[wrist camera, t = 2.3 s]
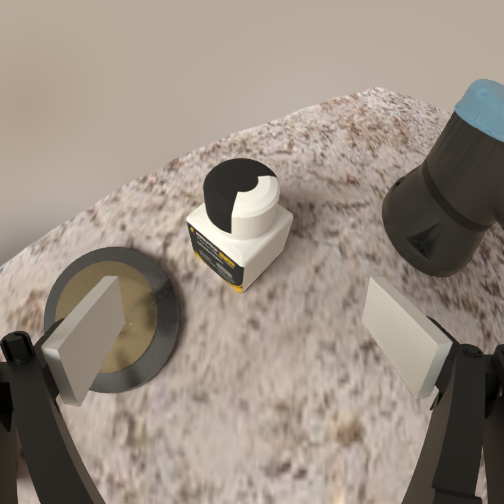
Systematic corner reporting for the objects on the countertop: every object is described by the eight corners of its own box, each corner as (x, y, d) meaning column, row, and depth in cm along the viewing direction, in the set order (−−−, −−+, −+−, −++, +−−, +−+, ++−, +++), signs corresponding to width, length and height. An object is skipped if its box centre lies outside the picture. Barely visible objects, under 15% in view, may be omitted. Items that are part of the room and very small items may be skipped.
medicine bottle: (192, 253, 33) (176, 181, 22) (236, 214, 36) (239, 136, 25) (241, 295, 31) (245, 236, 20) (284, 250, 34) (306, 179, 23)
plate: (184, 251, 33) (182, 244, 32) (177, 401, 26) (174, 401, 24) (62, 250, 32) (56, 244, 31) (41, 380, 25) (34, 378, 23)
